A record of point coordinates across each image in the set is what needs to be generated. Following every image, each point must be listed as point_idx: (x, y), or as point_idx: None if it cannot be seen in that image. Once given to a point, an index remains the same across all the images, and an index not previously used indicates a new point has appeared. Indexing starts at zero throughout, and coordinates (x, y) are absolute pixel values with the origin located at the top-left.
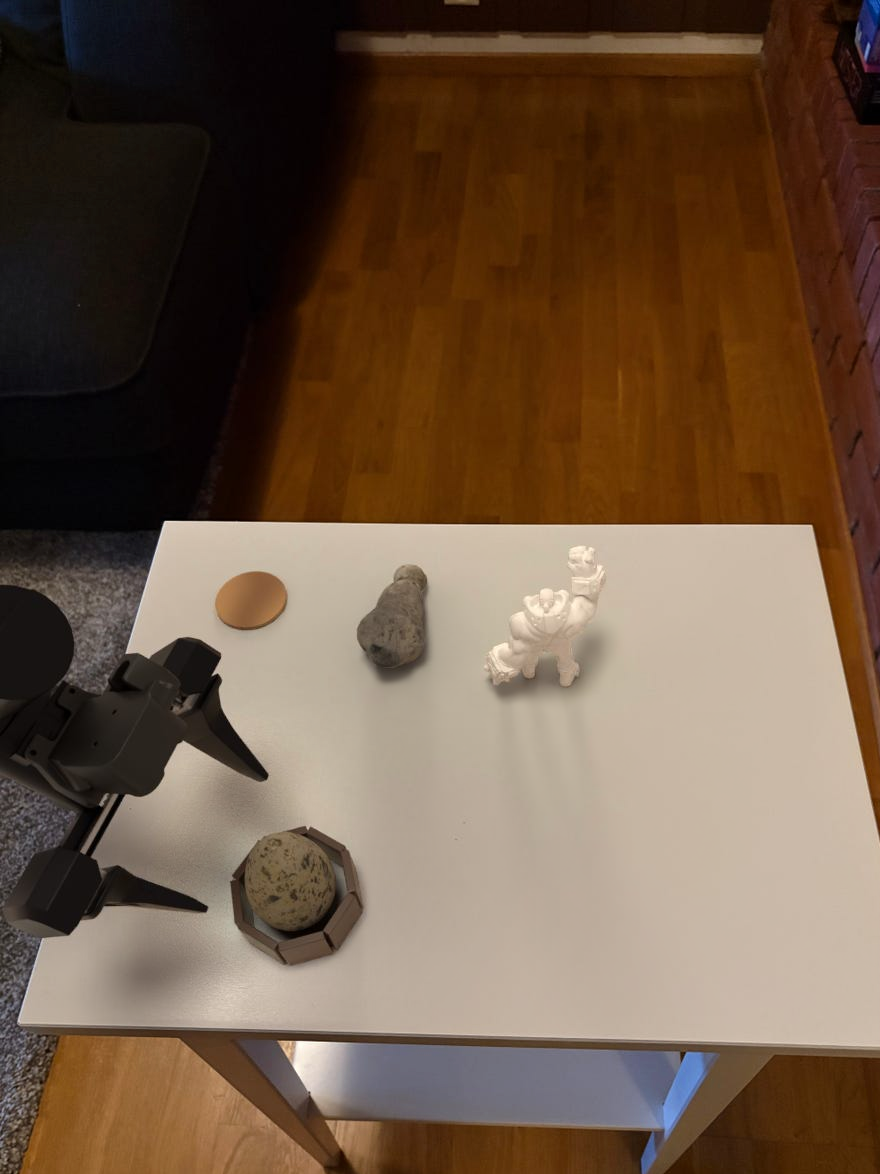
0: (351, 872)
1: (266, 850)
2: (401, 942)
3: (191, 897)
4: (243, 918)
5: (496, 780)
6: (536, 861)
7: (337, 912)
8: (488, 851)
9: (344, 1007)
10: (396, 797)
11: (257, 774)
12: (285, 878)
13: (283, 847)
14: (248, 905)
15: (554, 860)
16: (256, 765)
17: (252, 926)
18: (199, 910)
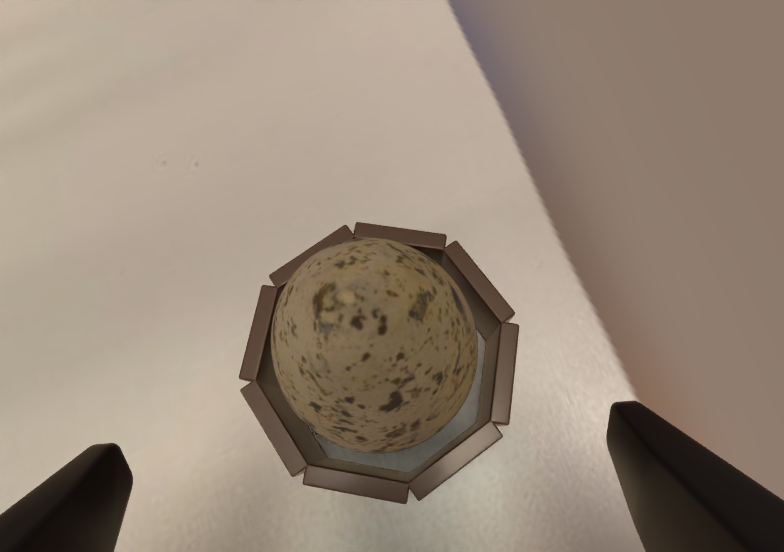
0: (313, 247)
1: (361, 318)
2: (390, 177)
3: (655, 449)
4: (483, 424)
5: (77, 142)
6: (203, 46)
7: (399, 237)
8: (205, 112)
9: (521, 217)
10: (141, 288)
11: (96, 478)
12: (410, 259)
13: (334, 275)
14: (435, 455)
15: (196, 25)
16: (51, 490)
17: (492, 393)
18: (653, 414)
